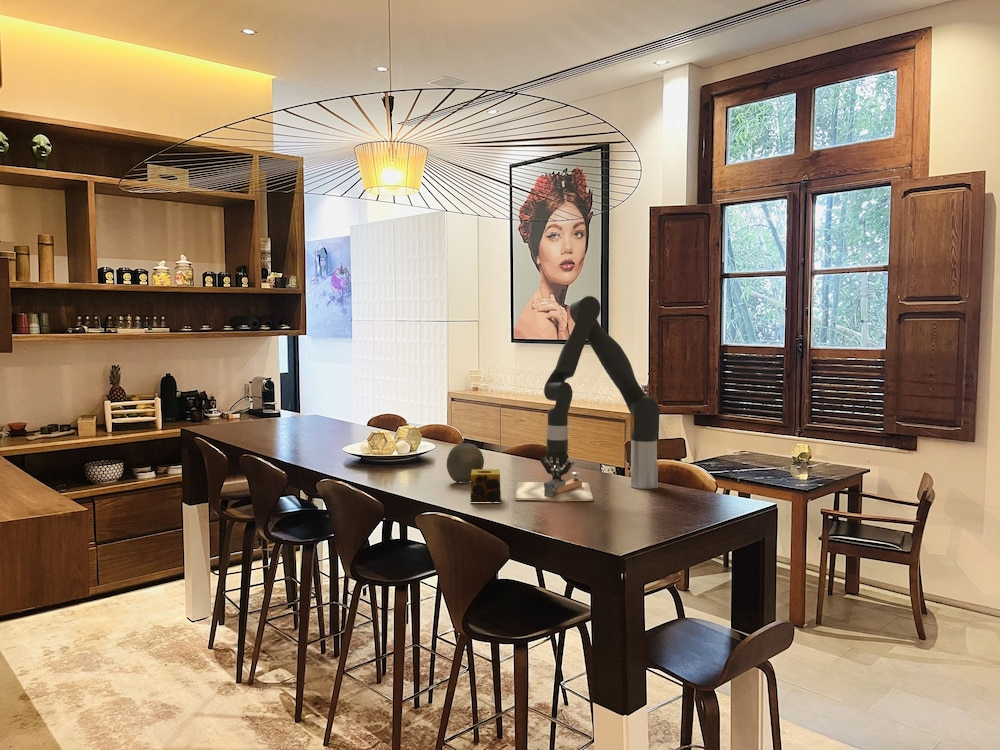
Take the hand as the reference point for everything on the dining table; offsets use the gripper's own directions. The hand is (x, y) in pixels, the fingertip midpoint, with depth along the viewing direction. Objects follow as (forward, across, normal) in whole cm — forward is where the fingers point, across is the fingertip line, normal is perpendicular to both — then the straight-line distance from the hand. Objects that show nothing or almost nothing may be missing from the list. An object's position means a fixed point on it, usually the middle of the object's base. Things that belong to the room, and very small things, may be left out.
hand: (556, 486), depth 270 cm
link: (+1, -3, -1) cm, 3 cm away
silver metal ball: (-1, -3, -8) cm, 9 cm away
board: (+2, 0, +1) cm, 2 cm away
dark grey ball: (+3, +37, +4) cm, 37 cm away
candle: (+3, +13, +25) cm, 28 cm away
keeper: (+1, -3, +8) cm, 9 cm away
